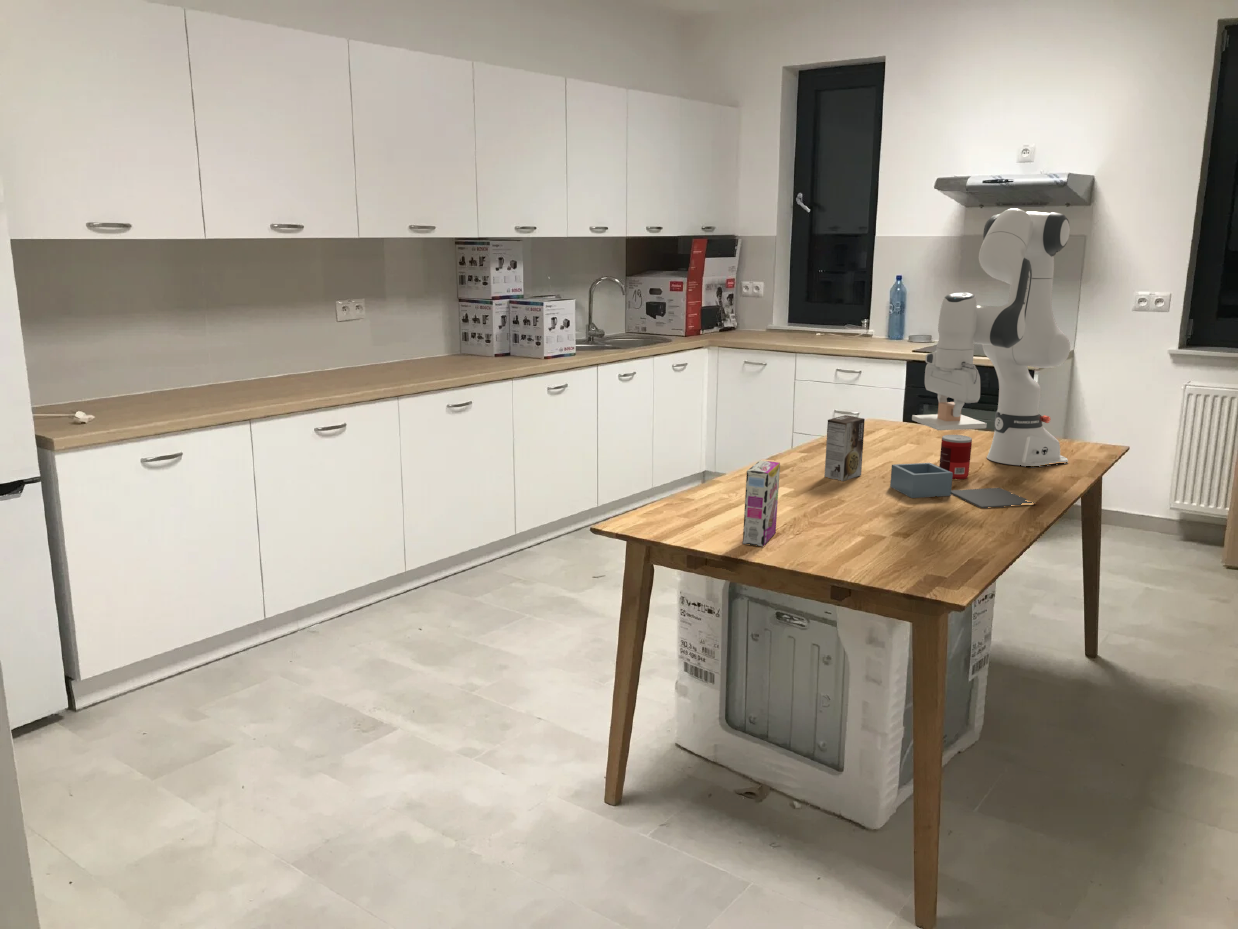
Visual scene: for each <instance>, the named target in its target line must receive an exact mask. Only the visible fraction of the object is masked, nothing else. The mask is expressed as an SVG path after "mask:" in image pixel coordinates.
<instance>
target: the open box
mask: <svg viewBox="0 0 1238 929" xmlns="http://www.w3.org/2000/svg"><path fill="white" fill-rule="evenodd" d="M890 471H891V472H890V481H889V482H890V483H889V487H890V488H891V489H893V490H895V491H897V492H899V493H901V494H903V495H904V496H907V497H909V498H911V499H913V498H914V499H916V498H932V497H933V498H934V497H935V496H937V497H948V496H949V497H950V496H952V494H951V490H952V484H953V480H952V477H953V473H952V472H950V471H948V470H945V469H943V468H941V467H939V466H938V465H936V464H933V463H931V462H915V463H897V464H891V470H890Z"/></svg>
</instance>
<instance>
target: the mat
mask: <svg viewBox="0 0 1238 929" xmlns="http://www.w3.org/2000/svg"><path fill="white" fill-rule="evenodd" d="M1011 493H1012V492H1011V491H1009V490H1006V489H1004V488H1002V487H989V488H988V487H987V488H985V487H983V488H970V489H969V488H967V489H953V490H952V489H951V495H952V494H953V495H952V496H955V497H956V496H958V497H959V498H958V497H957V498H958V499H960V498H961V500H963V501H965V500H966V501H965V502H967V503H968V504H971V503H972V504H971V505H973V504H974V505H973V506H975V505H976V507H978V508H979V507H981V508H984V509H989V508H988V507H1000V508H1005V507H1004V506H1011V505H1021V504H1022V503H1032V502H1033V503H1035V502H1034V501H1032V502H1027V501H1025V500H1028V499H1027V498H1024V497H1022V496H1020V495H1018V494H1015V493H1013V494H1011ZM1019 496H1020V497H1019ZM981 508H980V509H981Z"/></svg>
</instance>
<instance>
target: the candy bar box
mask: <svg viewBox="0 0 1238 929" xmlns="http://www.w3.org/2000/svg"><path fill="white" fill-rule="evenodd" d="M780 469H781V463H780V462H777V461H769V460H759V461H757V462H756V463H755V464H754V465H752V466H751V467H749V469H747V470H746V480H745V496H744V514H743V529H742V530H743V532H742V533H743V534H742V545H745V544H750V545H749V546H751V545H757V546H756V547H758V546H762V547H761V548H764V547H765V546H764V545H767V544H768V543H769V541H770V540H771V539H772V538H773V537H774V535H775V534H776V531H777V518H778V517H777V515H778V514H777V513H778V502H779V501H778V500H779V499H778V498H779V488H780V471H781V470H780ZM770 538H771V539H770ZM769 539H770V540H769ZM763 546H764V547H763Z"/></svg>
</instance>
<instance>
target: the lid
mask: <svg viewBox="0 0 1238 929" xmlns="http://www.w3.org/2000/svg"><path fill="white" fill-rule="evenodd" d="M954 405H955V403H954V401H950V402H949V401H947V402H940V403H939V402H938V405H937V406H938V409H937V413H936V414H917V415H915V414H912V416H911V420H912V421H914V422H917V423H918V424H921V425H924V426H927V427H929V428H931V429H933V430H936V431H956V430H957V431H958V430H974V429H975V430H976V429H987V425H988V424H987V422H983V421H980V420H978V419H975V418H972V417H971V416H970V417H969V416H967V415H963V414H962V412H961V413H960V416H959V417H954V416H951V409H953V408H954Z"/></svg>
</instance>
